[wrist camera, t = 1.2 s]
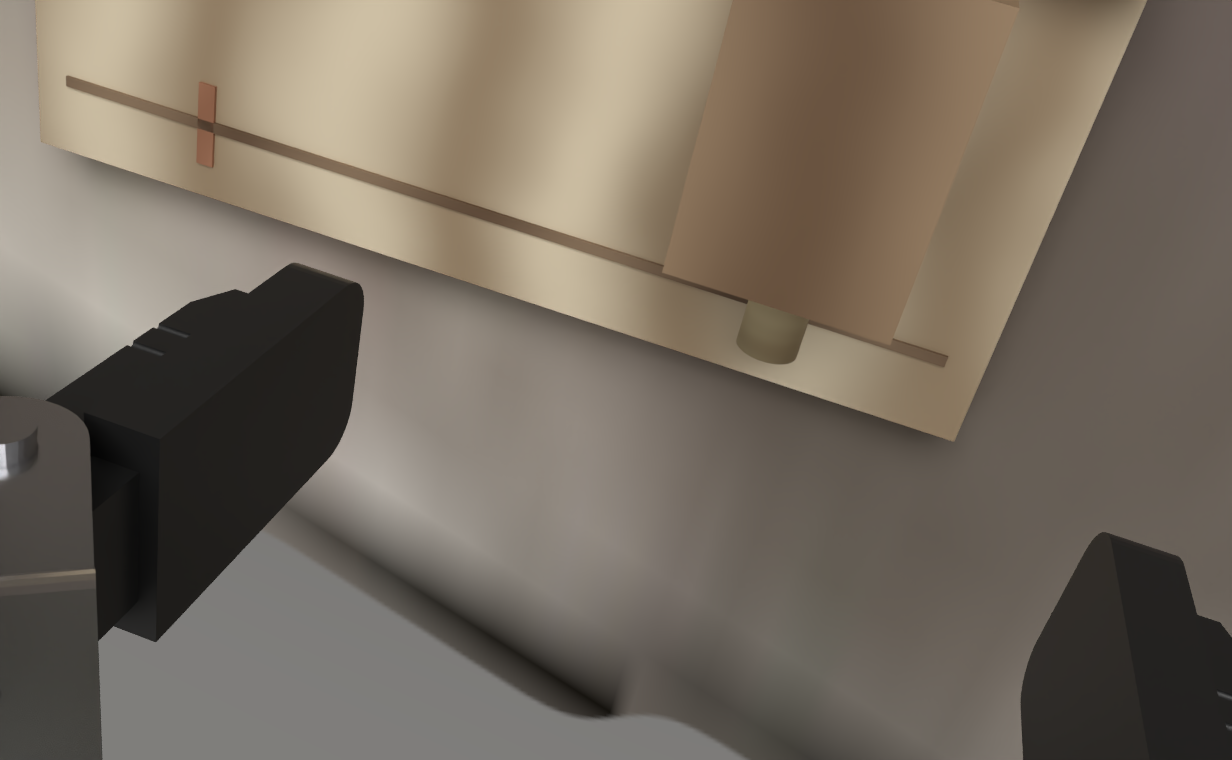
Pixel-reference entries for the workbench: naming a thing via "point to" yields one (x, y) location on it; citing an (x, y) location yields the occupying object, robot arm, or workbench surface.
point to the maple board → (559, 156)
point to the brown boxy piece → (831, 158)
